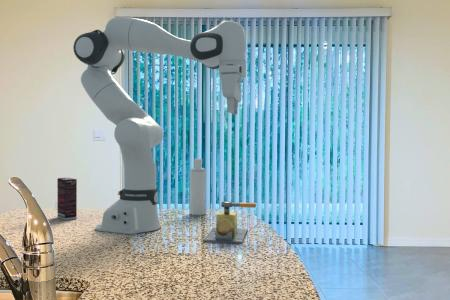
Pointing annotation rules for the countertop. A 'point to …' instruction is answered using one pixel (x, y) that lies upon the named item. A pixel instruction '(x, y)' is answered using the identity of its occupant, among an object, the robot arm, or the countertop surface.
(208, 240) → the valve
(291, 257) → the countertop surface
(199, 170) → the grey bottle
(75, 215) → the supplement box
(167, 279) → the countertop surface
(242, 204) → the lever
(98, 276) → the countertop surface
